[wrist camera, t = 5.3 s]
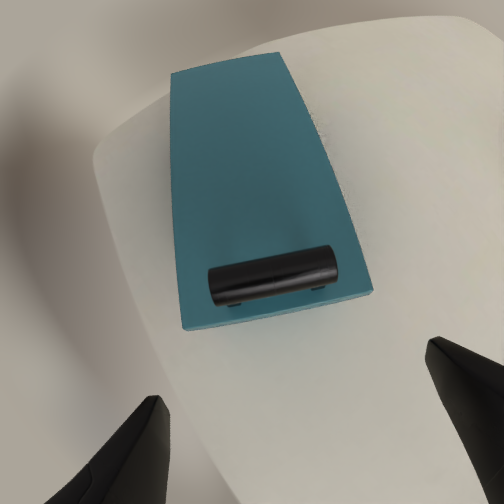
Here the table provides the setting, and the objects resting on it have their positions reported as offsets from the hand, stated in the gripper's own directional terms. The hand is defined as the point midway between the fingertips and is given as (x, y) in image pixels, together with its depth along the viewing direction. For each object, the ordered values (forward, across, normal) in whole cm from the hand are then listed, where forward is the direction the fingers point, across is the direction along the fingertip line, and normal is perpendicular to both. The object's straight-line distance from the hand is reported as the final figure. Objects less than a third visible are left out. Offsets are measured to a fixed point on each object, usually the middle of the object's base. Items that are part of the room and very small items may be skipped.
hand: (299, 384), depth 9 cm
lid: (+13, 0, -6) cm, 15 cm away
